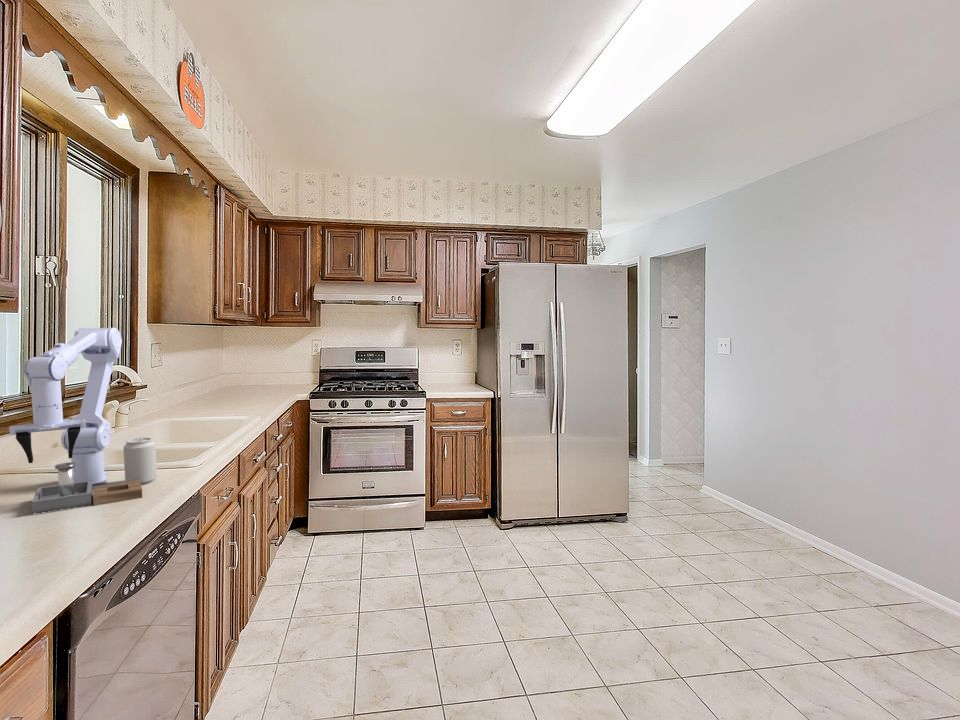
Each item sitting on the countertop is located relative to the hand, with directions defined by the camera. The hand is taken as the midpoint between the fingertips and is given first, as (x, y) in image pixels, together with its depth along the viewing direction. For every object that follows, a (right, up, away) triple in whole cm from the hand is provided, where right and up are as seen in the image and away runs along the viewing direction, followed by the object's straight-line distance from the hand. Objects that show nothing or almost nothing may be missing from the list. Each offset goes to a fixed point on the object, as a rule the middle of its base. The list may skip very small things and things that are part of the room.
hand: (51, 459), depth 133 cm
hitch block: (+14, -10, +4) cm, 18 cm away
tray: (+4, -10, -1) cm, 11 cm away
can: (+12, -9, +16) cm, 22 cm away
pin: (+4, -10, 0) cm, 10 cm away
